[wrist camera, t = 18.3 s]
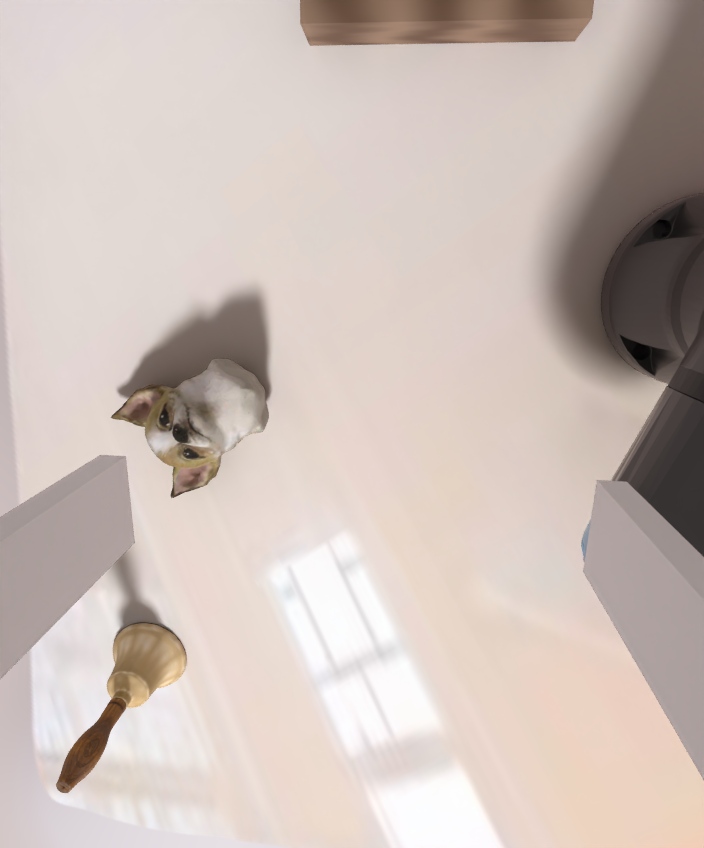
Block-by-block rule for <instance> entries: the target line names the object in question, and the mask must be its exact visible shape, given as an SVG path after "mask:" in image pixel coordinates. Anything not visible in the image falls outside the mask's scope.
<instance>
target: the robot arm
mask: <svg viewBox="0 0 704 848" xmlns="http://www.w3.org/2000/svg"><path fill="white" fill-rule="evenodd" d="M601 310H602V318H603V323H604V326H605V330H606V332H607V335H608V337H609V339H610V341H611V343H612V345H613V347H614V348H615V349H616V351H617V352H618V353H619V355H620V356H621V357H622V358H623V359H624V360H625V361H626V362H627V363H628V364H630V365H631V366H632V367H633V368H635V369H636V370H638V371H640V372H641V373H643V374H645V375H647V376H650V377H652V378H654V379H656V380H659V381H661V382H664V383H667V384H668V386H666V388H665V390H664V392H663V393H662V395H661V397H660V398H659V400H658V402H657V403H656V405H655V407H654V409H653V410H652V412H651V414H650V415H649V417H648V419H647V420H646V422H645V424H644V426H643V427H642V429H641V431H640V432H639V434H638V436H637V437H636V439H635V441H634V442H633V444H632V446H631V448H630V449H629V451H628V453H627V454H626V456H625V458H624V459H623V461H622V463H621V465H620V466H619V468H618V470H617V471H616V473H615V475H614V476H613V478H612V480H611V481H603V480H597V484H596V490H595V497H594V503H593V510H592V516H591V520H590V522H589V524H588V526H587V528H586V530H585V532H584V534H583V538H582V545H581V546H582V551H583V556H584V558H583V560H584V569H583V572H584V574H585V576H586V577H587V579H588V581H589V583H590V584H591V586H592V588H593V590H594V591H595V593H596V595H597V596H598V598H599V600H600V602H601V603H602V605H603V607H604V609H605V610H606V612H607V614H608V615H609V617H610V619H611V621H612V622H613V624H614V626H615V628H616V629H617V631H618V633H619V634H620V636H621V638H622V640H623V641H624V643H625V645H626V647H627V648H628V650H629V652H630V653H631V655H632V657H633V659H634V660H635V662H636V664H637V666H638V667H639V669H640V671H641V672H642V674H643V676H644V678H645V679H646V681H647V683H648V685H649V686H650V688H651V690H652V691H653V693H654V695H655V697H656V698H657V700H658V702H659V704H660V705H661V707H662V709H663V710H664V712H665V714H666V716H667V717H668V719H669V721H670V723H671V724H672V726H673V728H674V729H675V731H676V733H677V735H678V736H679V738H680V740H681V742H682V743H683V745H684V747H685V749H686V750H687V752H688V754H689V755H690V757H691V759H692V761H693V762H694V764H695V766H696V768H697V769H698V771H699V773H700V774H701V776H702V778H703V780H704V193H700V194H696V195H692V196H688V197H684V198H681V199H678V200H676V201H674V202H671V203H669V204H667V205H665V206H663V207H661V208H659V209H658V210H656V211H655V212H653V213H652V214H650V215H649V216H647V217H646V218H645V219H644V220H642V221H641V222H640V223H639V224H638V225H637V226H636V227H635V228H634V229H633V230H632V231H631V232H630V233H629V234H628V235H627V236H626V238H625V239H624V240H623V242H622V243H621V244H620V246H619V247H618V249H617V251H616V252H615V254H614V256H613V258H612V260H611V262H610V264H609V267H608V269H607V272H606V275H605V279H604V283H603V288H602V296H601ZM134 543H135V541H134V531H133V521H132V512H131V502H130V492H129V482H128V473H127V463H126V456H109V455H100V456H98V457H96V458H95V459H93V460H92V461H90V462H88V463H87V464H85V465H84V466H82V467H80V468H79V469H77V470H75V471H74V472H72V473H71V474H69V475H67V476H66V477H64V478H63V479H61V480H59V481H58V482H56V483H54V484H53V485H51V486H50V487H48V488H46V489H45V490H43V491H42V492H40V493H38V494H37V495H35V496H33V497H32V498H30V499H29V500H27V501H25V502H24V503H22V504H21V505H19V506H17V507H16V508H14V509H12V510H11V511H9V512H8V513H6V514H4V515H3V516H1V517H0V679H1V678H2V677H3V676H4V675H5V674H6V673H7V672H8V671H9V670H10V669H11V668H12V667H13V666H14V665H15V664H16V663H17V662H18V661H19V660H20V659H21V658H22V657H23V656H24V655H25V654H26V653H27V652H28V651H29V650H30V649H31V648H32V647H33V646H34V645H35V644H36V643H37V642H38V641H39V640H40V638H41V637H42V636H43V635H44V634H45V633H46V632H47V631H48V630H49V629H50V628H51V627H52V626H53V625H54V624H55V623H56V622H57V621H58V620H59V619H60V618H61V617H62V616H63V615H64V614H65V613H66V612H67V611H68V610H69V609H70V608H71V607H72V606H73V605H74V604H75V603H76V602H77V601H78V600H79V599H80V598H81V597H82V596H83V595H84V594H85V593H86V592H87V591H88V590H89V589H90V588H91V587H92V586H93V584H94V583H95V582H96V581H97V580H98V579H99V578H100V577H101V576H102V575H103V574H104V573H105V572H106V571H107V570H108V569H109V568H110V567H111V566H112V565H113V564H114V563H115V562H116V561H117V560H118V559H119V558H120V557H121V556H122V555H123V554H124V553H125V552H126V551H127V550H128V549H129V548H130V547H131V546H132V545H133V544H134Z"/></svg>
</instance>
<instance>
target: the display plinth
mask: <svg viewBox="0 0 704 848" xmlns="http://www.w3.org/2000/svg"><path fill="white" fill-rule="evenodd" d="M593 4H594V0H300V22H301V26H302V28H303V31H304V33H305V35H306V37H307V40H308V42H309V44H310V45H367V44H430V43H493V42H555V41H575V40H576V39H577V37H578V36H579V35H580V33H581V32H582V31H583V29H584V28H585V27H586V25H587V24H588V23H589V21H590V20H591V19H592V13H593Z"/></svg>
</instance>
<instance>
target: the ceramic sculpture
mask: <svg viewBox="0 0 704 848" xmlns="http://www.w3.org/2000/svg"><path fill="white" fill-rule="evenodd" d="M111 418H113V419H119V420H125V421H128V422H130V423H133V424H135V425H138V426H142V427H145V436H146V439H147V442H148V444H149V446H150V448H151V449H152V451H153V452H154V453H155V455H156V456H157V457H158V458H159V459H160V460H161V461H163V462H164V463H166V464H167V465H170V466H173V467H174V469H173V489H172V492H171V498H174V497H176V496H178V495H180V494H182V493H184V492H188V491H191V490H194V489H197V488H200V487H203V486H205V485H207V484H208V482H209V481H210V480H211V479H212V478H214V477H215V476H216V474H217V472H218V469H219V467H220V462H221V455H222V454H223V453H225V452H227V451H229V450H231V449H233V448H234V447H235V446H236V444H237V443H239V442H240V441H241V440H242V439H243V438H244V437H246V436H248V435H249V434H253V433H260V432H263V431H264V429H265V426H266V424H267V421H268V418H269V413H268V408H267V403H266V400H265V389H264V387H263V386H262V385H261V384H260V382H259V381H258V379H257V377H256V376H255V375H254V374H253V373H251V372H250V371H246V370H245V369H244V368H243V367H241V366H240V365H238V364H237V363H235V362H234V361H232V360H230V359H213V360H212V361H211V362H210V364H209V365H208V367H207V369H206V370H205V371H203V372H202V373H201V374H199V375H197V376H195V377H193V378H191V379H186V380H185V381H183V382H182V383H181V384H180V385H179V386H178V387H176V388H171V387H168V386H163V385H149V386H147V387H145V388H143V389H139V390H137V391H136V392H135V393H134V394H133V395H132V396H131V397H130V398H129V399H128V400H127V401H126V402H125V403H124V405H123V406H122V407H121V408H120V409H119V410H118V411H116V412H115V413H114V414H113V415H112V417H111Z"/></svg>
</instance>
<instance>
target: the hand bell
mask: <svg viewBox="0 0 704 848" xmlns="http://www.w3.org/2000/svg"><path fill="white" fill-rule="evenodd" d="M113 658H114V661H115V667H114V669H113V672H112V674H111V676H110V677H109V679H108V682H107V690H108V693H109V695H110V697H111V698H112V699H111V700H110V702H109V703H108V705H107V707H106V708H105V710H104V712H103V713H102V715H101V717H100V718H99V720H98V721H97V722H96V723H95V724H94V725H93V726H92V727H91V728H89V729H88V730H87V731H86V732H85V733H84V734H83V735H82V736H81V737H80V738H79V739H78V740H77V742H76V743H75V744H74V746H73V747H72V748H71V750H70V751H69V753H68V755H67V757H66V759H65V762H64V765H63V768H62V771H61V774H60V777H59V780H58V782H57V784H56V787H57V789H58V790H59V791H60V792H62V793H68V792H70V790H71V789H72V788H73V787H74V786H75V785H76V784H77V783H79V782H80V781H81V780H82V779H83V778H85V777H86V776H87V775H88V774H89V773H90V772H91V770H92V769H93V768H94V767H95V765H96V764H97V762H98V760H99V759H100V757H101V755H102V754H103V752H104V749H105V747H106V744H107V741H108V738H109V734H110V732H111V730H112V728H113V726H114V725H115V723H116V722H117V720H118V719H119V718H120V716H121V715H122V713H123V712H124V711H125V709H126V707H129V708H133V707H138V706H140V705H142V704H144V703H145V702H146V701H147V700H148V698H149V697H150V696H151V694H152V693H153V692H154V691H155V690H156V689H157V688H161V687H165V686H168V685H170V684H172V683H174V682H175V681H177V680H178V679H179V678H180V677H181V675H182V674H183V672H184V670H185V667H186V653H185V650H184V648H183V646H182V644H181V642H180V641H179V640H178V639H177V637H176V636H175V635H174V634H172V633H171V632H170V631H168V630H166V629H164V628H162V627H160V626H158V625H154V624H149V623H139V624H133V625H130V626H128V627H126V628H124V629H123V630H122V631H121V632H120V633H119V634H118V635H117V637H116V639H115V641H114V645H113Z"/></svg>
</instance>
